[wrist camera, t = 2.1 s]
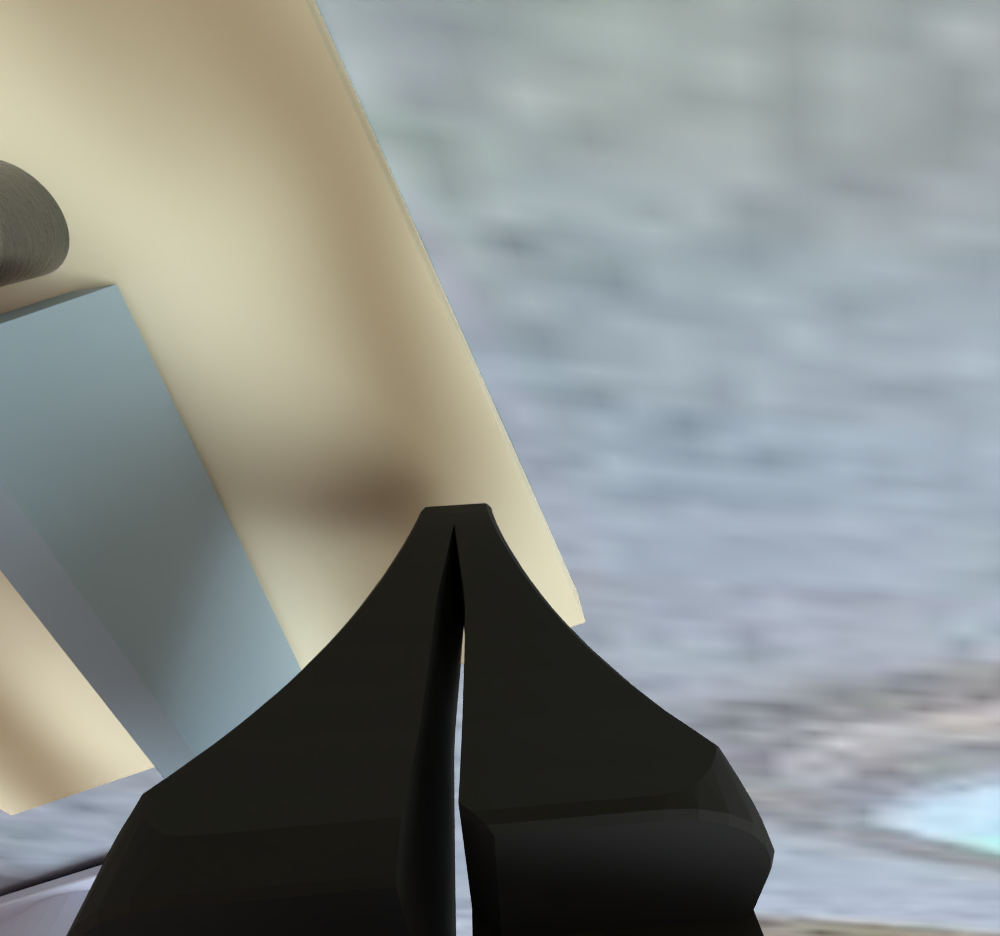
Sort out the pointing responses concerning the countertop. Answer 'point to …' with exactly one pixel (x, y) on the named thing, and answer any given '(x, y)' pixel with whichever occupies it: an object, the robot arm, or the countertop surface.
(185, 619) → the slate bar
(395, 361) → the maple board
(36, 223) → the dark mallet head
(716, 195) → the countertop surface
